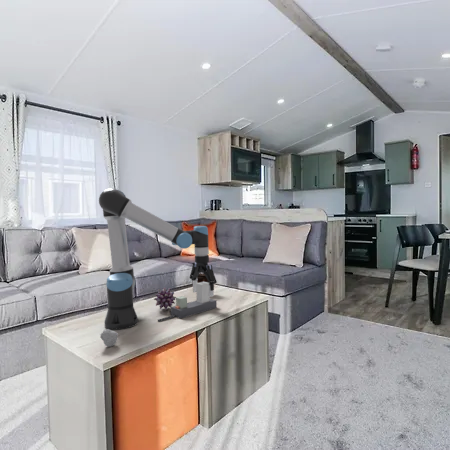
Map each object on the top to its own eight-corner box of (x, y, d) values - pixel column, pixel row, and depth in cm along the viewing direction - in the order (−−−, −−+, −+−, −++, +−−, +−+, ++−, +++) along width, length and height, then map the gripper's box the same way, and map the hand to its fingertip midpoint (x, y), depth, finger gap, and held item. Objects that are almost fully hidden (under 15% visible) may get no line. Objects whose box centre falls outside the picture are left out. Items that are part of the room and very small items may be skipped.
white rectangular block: (202, 305, 179) (201, 284, 178) (196, 303, 182) (196, 283, 181) (209, 303, 182) (209, 282, 181) (204, 301, 186) (203, 281, 185)
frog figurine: (98, 346, 136) (97, 329, 136) (116, 341, 140) (115, 325, 140) (102, 351, 131) (102, 333, 131) (120, 346, 135) (120, 329, 135)
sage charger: (180, 308, 170) (180, 299, 169) (176, 307, 173) (175, 297, 172) (187, 307, 172) (186, 297, 172) (182, 305, 175) (182, 296, 175)
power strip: (162, 323, 160) (162, 313, 160) (153, 319, 166) (153, 310, 166) (216, 307, 183) (216, 299, 183) (207, 304, 189) (207, 296, 189)
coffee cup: (194, 296, 208) (194, 275, 207) (199, 292, 216) (198, 272, 215) (208, 296, 206) (208, 275, 205) (212, 293, 214) (211, 273, 213)
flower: (152, 313, 176) (151, 290, 176) (156, 306, 188) (155, 285, 188) (174, 312, 177) (173, 290, 176) (177, 305, 189) (176, 284, 188)
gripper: (222, 256, 174) (223, 296, 175) (193, 252, 192) (194, 289, 194) (211, 258, 169) (212, 300, 170) (182, 253, 187) (183, 291, 188)
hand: (203, 294), depth 182 cm, fingers open, 13 cm apart
